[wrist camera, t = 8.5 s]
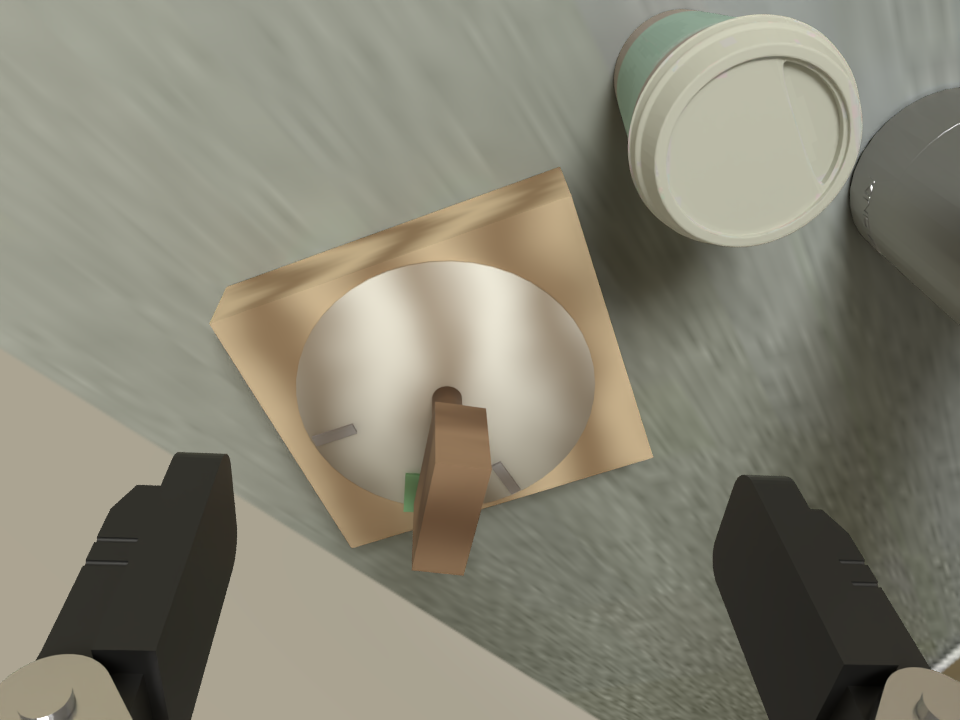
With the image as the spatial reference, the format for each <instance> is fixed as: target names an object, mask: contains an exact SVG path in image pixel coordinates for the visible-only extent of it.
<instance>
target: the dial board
mask: <svg viewBox="0 0 960 720" xmlns="http://www.w3.org/2000/svg"><path fill="white" fill-rule="evenodd" d="M209 324H210V326H211V327H212V329H213V330H214V332H215V333H216V335H217V337H218V338H219V340H220V341H221V343H222V345H223V346H224V348H225V349H226V351H227V352H228V354H229V356H230V357H231V359H232V360H233V362H234V363H235V365H236V367H237V368H238V370H239V371H240V373H241V374H242V376H243V378H244V379H245V381H246V382H247V384H248V386H249V387H250V389H251V390H252V392H253V393H254V395H255V397H256V398H257V400H258V401H259V403H260V404H261V406H262V408H263V409H264V411H265V412H266V414H267V415H268V417H269V419H270V420H271V422H272V423H273V425H274V427H275V428H276V430H277V431H278V433H279V434H280V436H281V438H282V439H283V441H284V442H285V444H286V445H287V447H288V449H289V450H290V452H291V453H292V455H293V456H294V458H295V460H296V461H297V463H298V464H299V466H300V468H301V469H302V471H303V472H304V474H305V475H306V477H307V479H308V480H309V482H310V483H311V485H312V486H313V488H314V490H315V491H316V493H317V494H318V496H319V497H320V499H321V501H322V502H323V504H324V505H325V507H326V509H327V510H328V512H329V513H330V515H331V516H332V518H333V520H334V521H335V523H336V524H337V526H338V527H339V529H340V531H341V532H342V534H343V535H344V537H345V538H346V540H347V542H348V543H349V545H350V546H351V548H355V547H358V546H361V545H365V544H368V543H371V542H375V541H378V540H381V539H384V538H388V537H391V536H394V535H398V534H401V533H404V532H408V531H411V530H413V514H414V501H415V496H416V491H417V486H418V481H419V477H420V472H421V467H422V462H423V457H424V453H425V448H426V443H427V438H428V434H429V429H430V424H431V419H432V396H433V393H434V392H435V391H436V390H437V389H438V388H441V387H444V386H450V387H454V388H456V389H457V390H458V391H459V392H460V393H461V395H462V405H465V406H472V407H479V408H486V413H487V424H488V435H489V445H490V456H491V466H492V471H491V475H490V479H489V482H488V486H487V490H486V494H485V497H484V501H483V505H482V508H481V509H484V508H487V507H491V506H494V505H497V504H500V503H504V502H507V501H510V500H514V499H517V498H520V497H524V496H527V495H530V494H534V493H537V492H540V491H544V490H547V489H550V488H553V487H557V486H560V485H563V484H567V483H570V482H573V481H577V480H580V479H583V478H587V477H590V476H593V475H597V474H600V473H603V472H607V471H610V470H613V469H616V468H620V467H623V466H626V465H630V464H633V463H636V462H640V461H643V460H646V459H650V458H653V455H652V452H651V449H650V446H649V442H648V439H647V436H646V433H645V430H644V426H643V423H642V420H641V417H640V414H639V410H638V407H637V404H636V401H635V398H634V394H633V391H632V388H631V385H630V382H629V378H628V375H627V372H626V369H625V366H624V362H623V359H622V356H621V353H620V350H619V346H618V343H617V340H616V337H615V334H614V330H613V327H612V324H611V321H610V318H609V314H608V311H607V308H606V305H605V302H604V298H603V295H602V292H601V289H600V286H599V283H598V279H597V276H596V273H595V270H594V267H593V263H592V260H591V257H590V254H589V251H588V247H587V244H586V241H585V238H584V235H583V231H582V228H581V225H580V222H579V219H578V215H577V212H576V209H575V206H574V203H573V199H572V196H571V193H570V191H569V188H568V186H567V183H566V181H565V178H564V176H563V173H562V171H561V168H560V167H558V168H555V169H552V170H550V171H547V172H544V173H541V174H539V175H536V176H533V177H530V178H527V179H525V180H522V181H519V182H516V183H514V184H511V185H508V186H505V187H503V188H500V189H497V190H494V191H491V192H489V193H486V194H483V195H480V196H478V197H475V198H472V199H469V200H467V201H464V202H461V203H458V204H455V205H453V206H450V207H447V208H444V209H442V210H439V211H436V212H433V213H431V214H428V215H425V216H422V217H419V218H417V219H414V220H411V221H408V222H406V223H403V224H400V225H397V226H395V227H392V228H389V229H386V230H383V231H381V232H378V233H375V234H372V235H370V236H367V237H364V238H361V239H359V240H356V241H353V242H350V243H347V244H345V245H342V246H339V247H336V248H334V249H331V250H328V251H325V252H322V253H320V254H317V255H314V256H311V257H309V258H306V259H303V260H300V261H298V262H295V263H292V264H289V265H286V266H284V267H281V268H278V269H275V270H273V271H270V272H267V273H264V274H262V275H259V276H256V277H253V278H250V279H248V280H245V281H242V282H239V283H237V284H234V285H231V286H228V287H226V289H225V292H224V294H223V296H222V298H221V300H220V302H219V304H218V306H217V309H216V311H215V313H214V315H213V317H212V319H211V321H210V323H209Z"/></svg>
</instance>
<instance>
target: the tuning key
mask: <svg viewBox="0 0 960 720" xmlns="http://www.w3.org/2000/svg"><path fill="white" fill-rule="evenodd" d="M491 471H492V466H491V456H490V445H489V435H488V424H487V413H486V408H479V407H472V406H465V405H462V395H461V393H460V392H459V391H458V390H457V389H456V388H454V387H450V386H444V387H441V388H438V389H437V390H436V391H435V392H434V393H433V396H432V419H431V424H430V429H429V434H428V438H427V443H426V448H425V453H424V457H423V462H422V467H421V472H420V477H419V481H418V486H417V491H416V496H415V501H414V514H413V548H412V570H414V571H424V572H434V573H444V574H453V575H464V572H465V568H466V564H467V560H468V557H469V553H470V549H471V546H472V542H473V538H474V534H475V531H476V527H477V523H478V520H479V516H480V512H481V508H482V505H483V501H484V497H485V494H486V490H487V486H488V482H489V479H490V475H491Z"/></svg>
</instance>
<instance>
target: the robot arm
mask: <svg viewBox="0 0 960 720" xmlns="http://www.w3.org/2000/svg"><path fill="white" fill-rule="evenodd" d="M850 208H851V213H852V217H853V221H854V223H855V225H856V227H857V228H858V230H859V232H860V234H861V235H862V236H863V237H864V238H865V239H866V240H867V241H868V242H869V243H870V244H871V245H872V246H873V247H874V248H875V249H876V251H877V252H879V253H880V254H882V255H883V256H884V257H885V258H886V259H888V260H889V261H890V262H891V263H892V264H893V265H894V266H895V267H896V268H897V269H898V270H899V271H900V272H901V273H902V274H903V275H905V276H906V277H907V278H908V279H909V280H910V281H911V282H912V283H913V284H914V285H916V286H917V287H918V288H919V289H920V290H921V291H922V292H923V293H924V294H925V295H927V296H928V297H929V298H930V299H931V300H932V301H933V302H934V303H935V304H937V305H938V306H939V307H940V308H941V309H942V310H943V311H944V312H945V313H946V314H948V315H949V316H950V317H951V318H952V319H953V320H954V321H955V322H956V323H958V324H959V325H960V87H959V88H952V89H945V90H942V91H939V92H936V93H933V94H930V95H927V96H925V97H923V98H921V99H919V100H918V101H916V102H914V103H912V104H910V105H908V106H907V107H905V108H904V109H903V110H901V111H900V112H899V113H897V114H896V115H895V116H894V117H892V118H891V119H890V120H889V121H888V122H887V123H886V124H885V125H884V126H883V127H882V128H881V129H880V130H879V131H878V132H877V133H876V134H875V136H874V137H873V138H872V140H871V141H870V143H869V144H868V146H867V147H866V149H865V150H864V152H863V153H862V155H861V158H860V160H859V162H858V164H857V167H856V169H855V171H854V175H853V179H852V184H851V188H850ZM236 545H237V524H236V514H235V503H234V493H233V482H232V472H231V463H230V458H229V456H228V455H227V454H214V453H188V452H177V453H176V454H175V455H174V457H173V459H172V461H171V463H170V465H169V468H168V470H167V472H166V475H165V477H164V479H163V482H162V484H161V486H152V485H136V486H135V487H134V488H133V489H132V490H131V491H130V492H129V493H128V494H126V495H125V496H124V497H123V498H122V499H121V500H120V501H119V502H118V503H116V504H115V506H113V507H112V508H111V509H110V511H109V513H108V515H107V517H106V519H105V521H104V524H103V526H102V528H101V530H100V532H99V534H98V536H97V542H94V544H93V546H92V548H91V550H90V552H89V554H88V556H87V558H86V564H85V566H83V567H82V569H81V571H80V573H79V575H78V577H77V579H76V581H75V583H74V585H73V587H72V589H71V591H70V593H69V595H68V597H67V599H66V601H65V603H64V606H63V608H62V610H61V612H60V614H59V616H58V618H57V620H56V622H55V624H54V626H53V628H52V630H51V632H50V634H49V636H48V638H47V640H46V643H45V644H44V647H43V649H42V651H41V652H40V654H39V656H38V657H37V659H36V661H34V662H32V663H29V664H27V665H25V666H24V667H22V668H20V669H18V670H17V671H15V672H14V673H12V674H11V675H9V676H8V677H7V678H6V679H5V680H3V681H2V682H1V683H0V720H191V717H192V713H193V710H194V707H195V703H196V699H197V696H198V692H199V689H200V685H201V681H202V678H203V674H204V670H205V667H206V663H207V660H208V656H209V652H210V649H211V645H212V642H213V638H214V634H215V631H216V627H217V624H218V620H219V616H220V613H221V609H222V606H223V602H224V599H225V595H226V591H227V588H228V584H229V581H230V577H231V573H232V570H233V566H234V561H235V554H236ZM713 570H714V576H715V580H716V583H717V586H718V588H719V591H720V594H721V596H722V599H723V601H724V604H725V607H726V609H727V612H728V614H729V617H730V619H731V622H732V625H733V627H734V630H735V632H736V635H737V638H738V640H739V643H740V645H741V648H742V651H743V653H744V656H745V658H746V661H747V664H748V666H749V669H750V671H751V674H752V676H753V679H754V682H755V684H756V687H757V689H758V692H759V695H760V697H761V700H762V702H763V705H764V708H765V710H766V713H767V715H768V718H769V720H960V682H958V681H956V680H954V679H953V678H951V677H949V676H947V675H944V674H942V673H940V672H937V671H934V670H931V669H930V667H929V666H928V664H927V662H926V661H925V659H924V657H923V656H922V654H921V652H920V651H919V649H918V647H917V646H916V644H915V642H914V641H913V639H912V638H911V636H910V634H909V633H908V631H907V629H906V628H905V626H904V624H903V623H902V621H901V619H900V618H899V616H898V614H897V613H896V611H895V609H894V608H893V606H892V605H891V603H890V601H889V600H888V598H887V596H886V595H885V593H884V591H883V590H882V588H878V585H877V583H878V581H877V580H876V578H875V577H874V575H873V573H872V572H871V570H870V568H869V567H868V565H865V564H864V558H863V557H862V555H861V553H860V552H859V550H858V548H857V547H856V545H855V544H854V542H853V540H852V539H851V537H850V535H849V534H848V533H847V532H846V531H845V530H844V529H843V528H842V527H841V526H839V525H838V524H837V523H836V522H835V521H834V520H833V519H832V518H831V517H829V516H828V515H827V514H826V513H825V512H824V511H823V510H814V509H810V508H809V507H808V505H807V503H806V501H805V500H804V498H803V496H802V494H801V493H800V491H799V489H798V487H797V485H796V484H795V482H794V481H793V480H792V479H791V478H789V477H786V476H760V475H741V476H740V477H738V479H737V480H736V482H735V484H734V487H733V490H732V493H731V496H730V499H729V501H728V504H727V507H726V510H725V513H724V516H723V519H722V522H721V525H720V528H719V531H718V534H717V537H716V540H715V543H714V548H713Z"/></svg>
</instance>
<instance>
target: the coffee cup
mask: <svg viewBox="0 0 960 720" xmlns="http://www.w3.org/2000/svg"><path fill="white" fill-rule="evenodd" d="M614 88H615V94H616V98H617V101H618V105H619V109H620V113H621V116H622V120H623V123H624V127H625V130H626V133H627V137H628V160H629V167H630V172H631V176H632V179H633V182H634V185H635V187H636V190H637V192H638V194H639V196H640V197H641V199H642V201H643V202H644V204H645V205H646V206H647V208H648V209H649V210H650V211H651V212H652V213H653V214H654V215H655V216H656V217H657V218H658V219H659V220H660V221H661V222H663V223H664V224H666V225H667V226H669V227H670V228H671V229H673V230H674V231H676V232H677V233H679V234H681V235H683V236H685V237H688V238H690V239H693V240H696V241H700V242H704V243H709V244H715V245H720V246H727V247H748V246H756V245H761V244H765V243H769V242H772V241H775V240H777V239H780V238H782V237H785V236H787V235H789V234H791V233H793V232H795V231H797V230H798V229H800V228H801V227H803V226H805V225H806V224H807V223H809V222H810V221H811V220H813V219H814V218H815V217H817V216H818V215H819V214H820V213H821V212H822V211H823V210H824V209H825V208H826V207H827V206H828V205H829V204H830V203H831V202H832V201H833V199H834V198H835V197H836V196H837V194H838V193H839V191H840V190H841V189H842V187H843V186H844V184H845V182H846V181H847V179H848V177H849V175H850V173H851V171H852V169H853V167H854V164H855V162H856V159H857V156H858V153H859V148H860V143H861V138H862V112H861V105H860V101H859V94H858V89H857V85H856V82H855V79H854V76H853V74H852V71H851V69H850V67H849V65H848V64H847V62H846V60H845V59H844V57H843V56H842V55H841V54H840V52H839V51H838V50H837V48H836V47H835V46H834V45H833V44H832V43H831V41H830V40H829V39H827V38H826V37H825V36H824V35H823V34H822V33H820V32H819V31H818V30H816V29H814V28H813V27H811V26H809V25H807V24H805V23H803V22H801V21H798V20H795V19H792V18H789V17H784V16H779V15H768V14H758V15H747V16H741V17H731V16H725V15H720V14H714V13H708V12H702V11H695V10H688V9H677V10H670V11H666V12H663V13H660V14H658V15H656V16H654V17H652V18H650V19H648V20H647V21H645V22H644V23H643V24H641V25H640V26H639V27H638V28H637V29H636V30H635V31H634V32H633V33H632V34H631V35H630V37H629V38H628V39H627V41H626V42H625V44H624V46H623V47H622V49H621V51H620V54H619V56H618V59H617V62H616V66H615V72H614Z"/></svg>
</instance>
